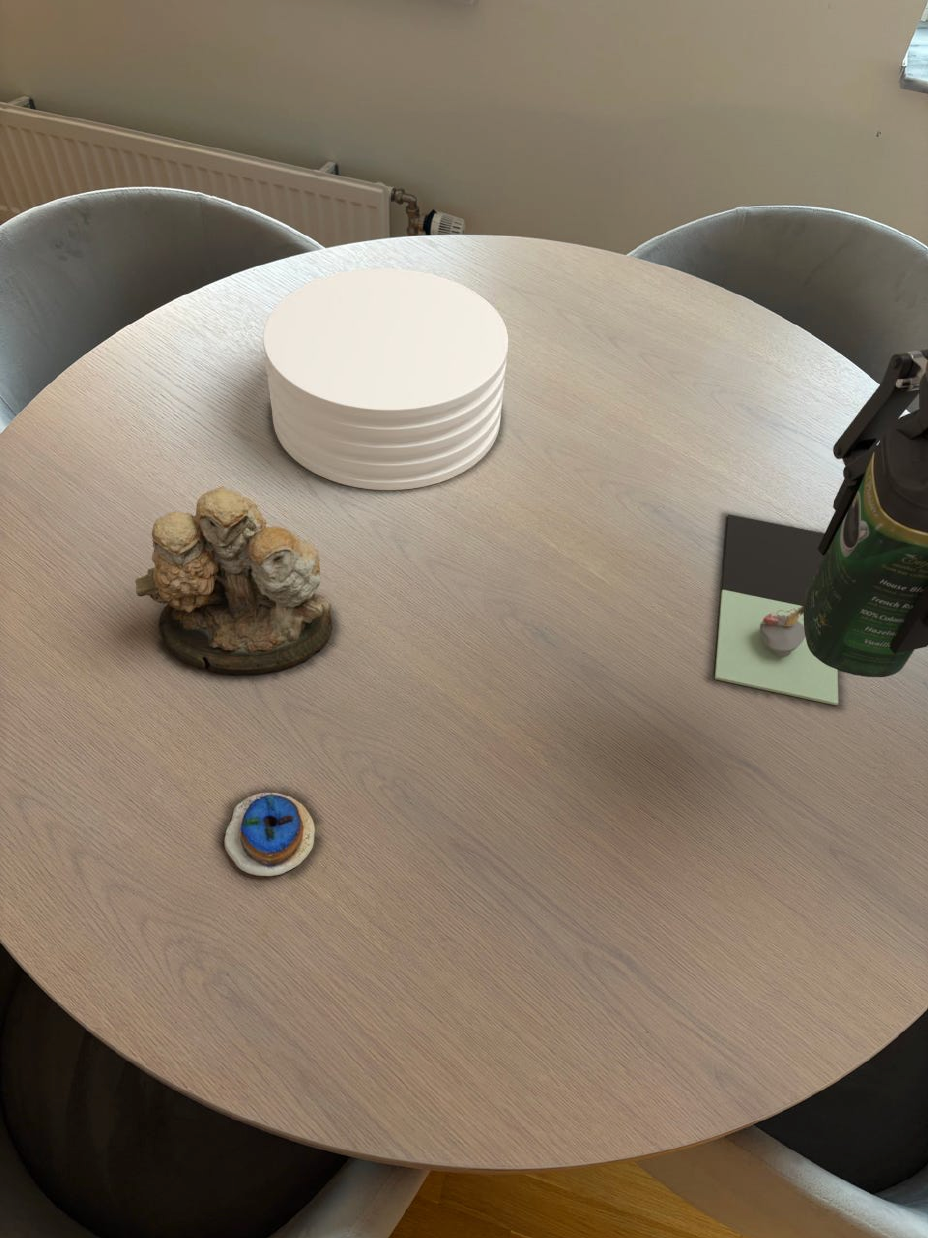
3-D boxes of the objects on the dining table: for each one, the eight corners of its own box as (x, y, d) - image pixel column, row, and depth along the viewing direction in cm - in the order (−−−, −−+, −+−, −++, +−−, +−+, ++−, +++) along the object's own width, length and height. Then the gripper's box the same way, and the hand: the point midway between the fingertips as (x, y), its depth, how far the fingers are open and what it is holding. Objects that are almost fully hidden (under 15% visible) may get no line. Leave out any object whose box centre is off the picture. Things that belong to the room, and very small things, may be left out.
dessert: (325, 864, 78) (277, 841, 74) (265, 899, 80) (215, 879, 76) (313, 784, 84) (267, 759, 80) (257, 819, 86) (209, 796, 81)
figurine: (787, 669, 95) (807, 631, 90) (746, 648, 96) (764, 610, 92) (806, 635, 98) (826, 597, 93) (766, 616, 99) (784, 578, 95)
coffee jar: (908, 691, 70) (1035, 508, 56) (800, 670, 71) (898, 483, 57) (898, 596, 76) (1011, 409, 62) (799, 578, 77) (887, 388, 63)
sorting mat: (837, 706, 93) (838, 703, 92) (714, 679, 94) (715, 676, 94) (832, 537, 108) (834, 535, 108) (727, 516, 109) (728, 514, 109)
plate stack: (459, 334, 129) (463, 256, 121) (532, 466, 113) (544, 387, 104) (253, 364, 123) (242, 283, 114) (299, 509, 106) (291, 428, 97)
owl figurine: (142, 678, 90) (98, 554, 77) (159, 585, 98) (122, 458, 85) (332, 674, 92) (322, 552, 79) (335, 583, 99) (325, 458, 86)
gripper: (857, 241, 59) (755, 505, 76) (1100, 470, 46) (910, 726, 63) (958, 229, 61) (836, 489, 78) (1221, 446, 48) (1004, 702, 65)
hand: (869, 595), depth 71 cm, fingers closed on coffee jar, 9 cm apart
